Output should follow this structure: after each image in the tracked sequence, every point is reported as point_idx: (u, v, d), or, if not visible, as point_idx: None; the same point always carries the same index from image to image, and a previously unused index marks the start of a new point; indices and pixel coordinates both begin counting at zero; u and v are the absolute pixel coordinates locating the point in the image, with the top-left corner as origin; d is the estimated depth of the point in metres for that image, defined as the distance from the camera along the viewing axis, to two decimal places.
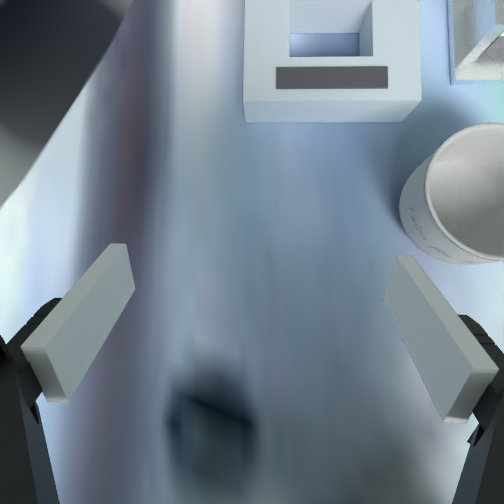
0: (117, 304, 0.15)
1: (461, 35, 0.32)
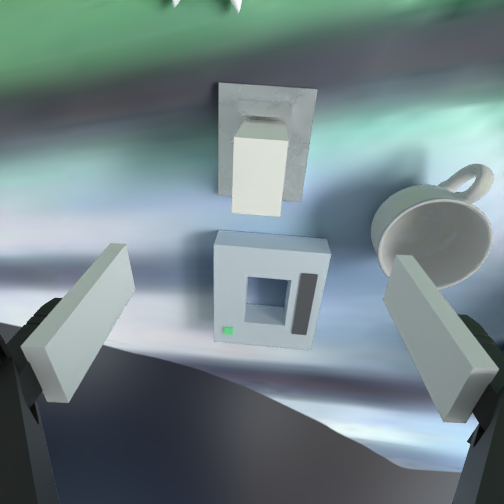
0: (117, 304, 0.15)
1: None
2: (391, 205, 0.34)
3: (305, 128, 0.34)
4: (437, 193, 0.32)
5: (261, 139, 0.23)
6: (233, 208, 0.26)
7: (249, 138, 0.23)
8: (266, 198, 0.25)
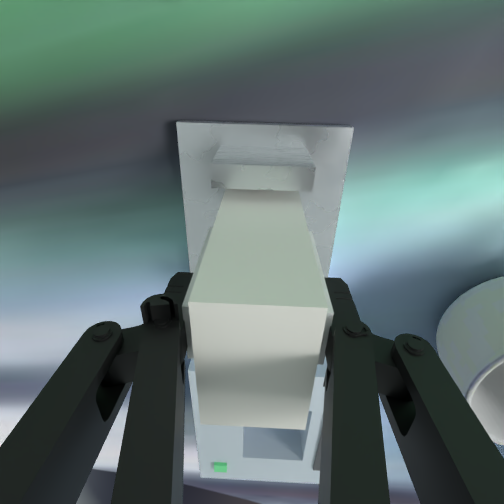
0: None
1: None
2: (484, 317, 0.20)
3: (331, 191, 0.20)
4: None
5: (258, 304, 0.09)
6: (203, 418, 0.12)
7: (228, 302, 0.09)
8: (274, 404, 0.11)
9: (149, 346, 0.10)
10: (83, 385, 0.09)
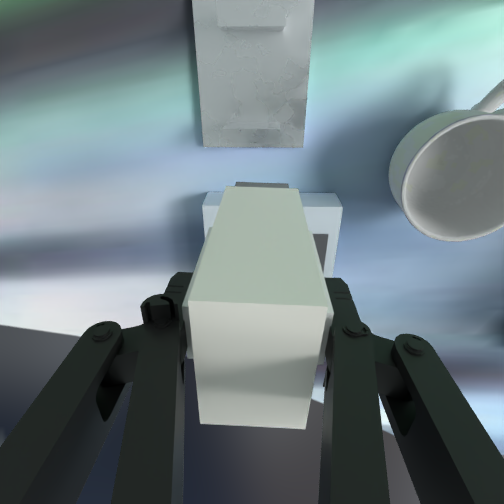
0: None
1: None
2: (414, 137, 0.28)
3: (302, 49, 0.28)
4: (473, 113, 0.25)
5: (258, 302, 0.09)
6: (203, 417, 0.12)
7: (227, 301, 0.09)
8: (274, 403, 0.11)
9: (149, 346, 0.10)
10: (83, 385, 0.09)
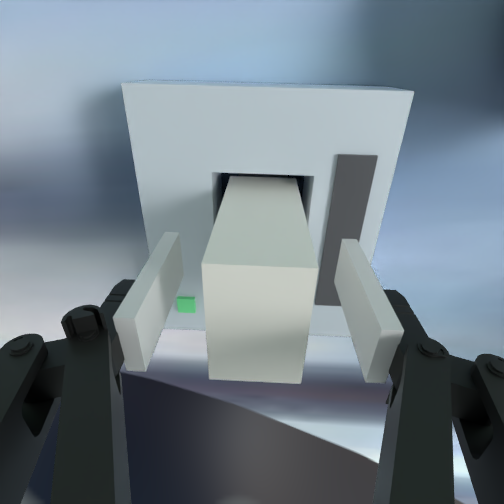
0: (173, 287, 0.16)
1: None
2: None
3: None
4: None
5: (260, 265, 0.11)
6: (212, 373, 0.14)
7: (234, 264, 0.11)
8: (273, 359, 0.13)
9: (76, 361, 0.09)
10: (5, 401, 0.08)
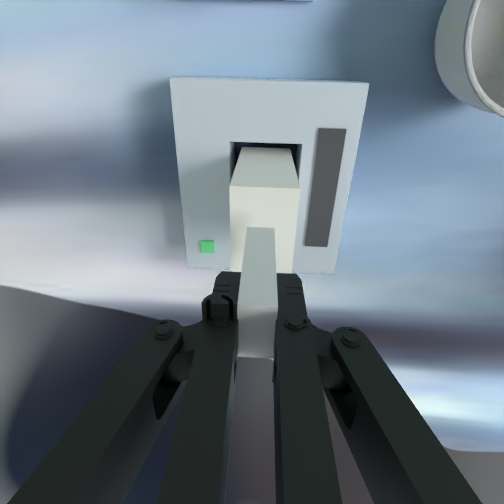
0: None
1: None
2: None
3: None
4: None
5: (265, 187, 0.18)
6: (232, 268, 0.21)
7: (249, 186, 0.18)
8: None
9: (206, 343, 0.10)
10: (142, 383, 0.09)
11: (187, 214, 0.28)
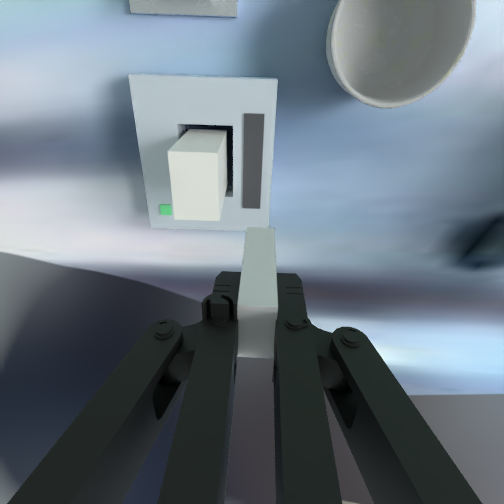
0: None
1: (185, 4, 0.30)
2: None
3: None
4: None
5: (193, 152, 0.26)
6: (175, 215, 0.28)
7: (182, 151, 0.26)
8: (204, 205, 0.28)
9: (206, 343, 0.10)
10: (143, 383, 0.09)
11: (148, 182, 0.35)
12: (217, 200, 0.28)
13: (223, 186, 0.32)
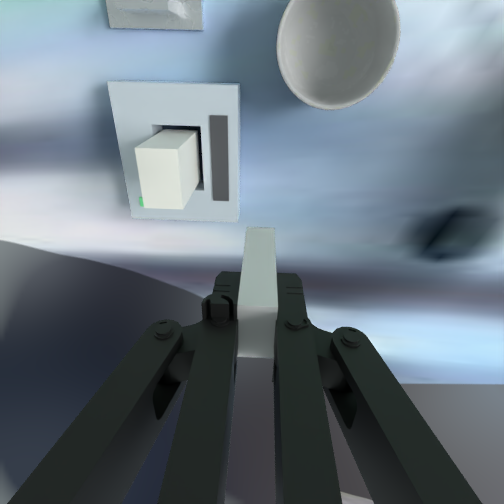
0: None
1: (157, 19, 0.34)
2: None
3: None
4: None
5: (156, 148, 0.30)
6: (144, 204, 0.32)
7: (147, 148, 0.30)
8: (169, 195, 0.32)
9: (206, 343, 0.10)
10: (142, 382, 0.09)
11: (128, 177, 0.39)
12: (180, 191, 0.31)
13: (191, 180, 0.36)
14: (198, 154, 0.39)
